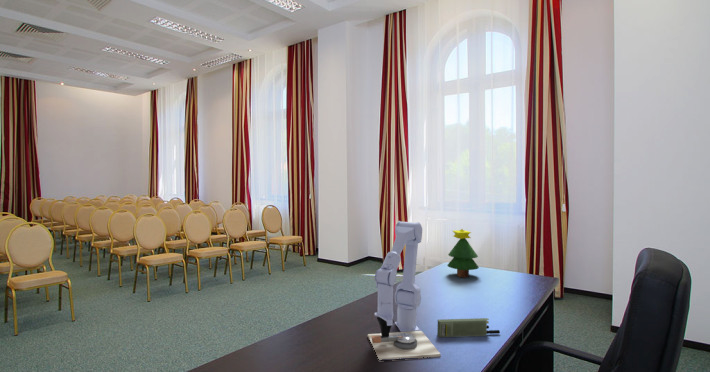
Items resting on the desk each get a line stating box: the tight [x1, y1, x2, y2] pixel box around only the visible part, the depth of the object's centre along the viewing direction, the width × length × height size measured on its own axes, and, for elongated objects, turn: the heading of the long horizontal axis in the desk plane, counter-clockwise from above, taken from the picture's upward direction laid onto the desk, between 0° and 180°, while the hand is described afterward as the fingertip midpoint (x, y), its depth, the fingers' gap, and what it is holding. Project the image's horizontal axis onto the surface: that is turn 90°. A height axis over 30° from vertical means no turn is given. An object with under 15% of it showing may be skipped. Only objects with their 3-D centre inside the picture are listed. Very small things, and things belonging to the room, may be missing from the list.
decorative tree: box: [446, 228, 479, 278], centre depth 239 cm, size 19×19×30 cm
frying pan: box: [372, 333, 415, 344], centre depth 138 cm, size 7×16×2 cm, turn 99°
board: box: [367, 330, 442, 361], centre depth 140 cm, size 20×22×2 cm
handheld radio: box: [436, 317, 501, 338], centre depth 150 cm, size 7×3×25 cm
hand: (385, 337), depth 140 cm, fingers closed
